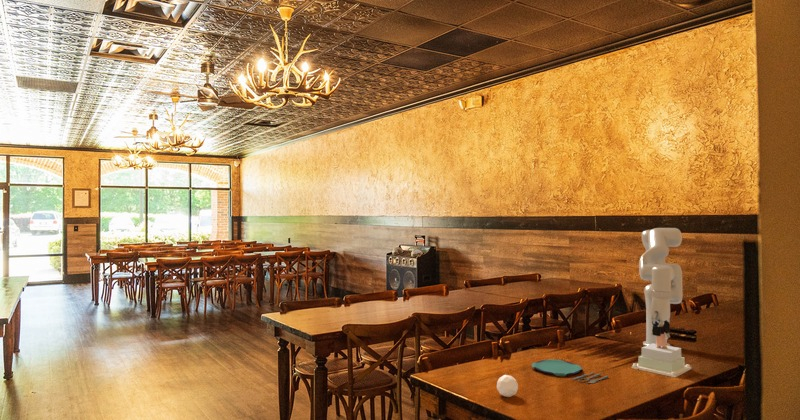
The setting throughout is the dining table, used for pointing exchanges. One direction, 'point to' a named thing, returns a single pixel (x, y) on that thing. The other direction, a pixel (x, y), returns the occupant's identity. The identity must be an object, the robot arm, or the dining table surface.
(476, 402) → the dining table surface
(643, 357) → the white stepped pedestal
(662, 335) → the grandmother figurine
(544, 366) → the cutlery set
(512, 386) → the geometric ball
